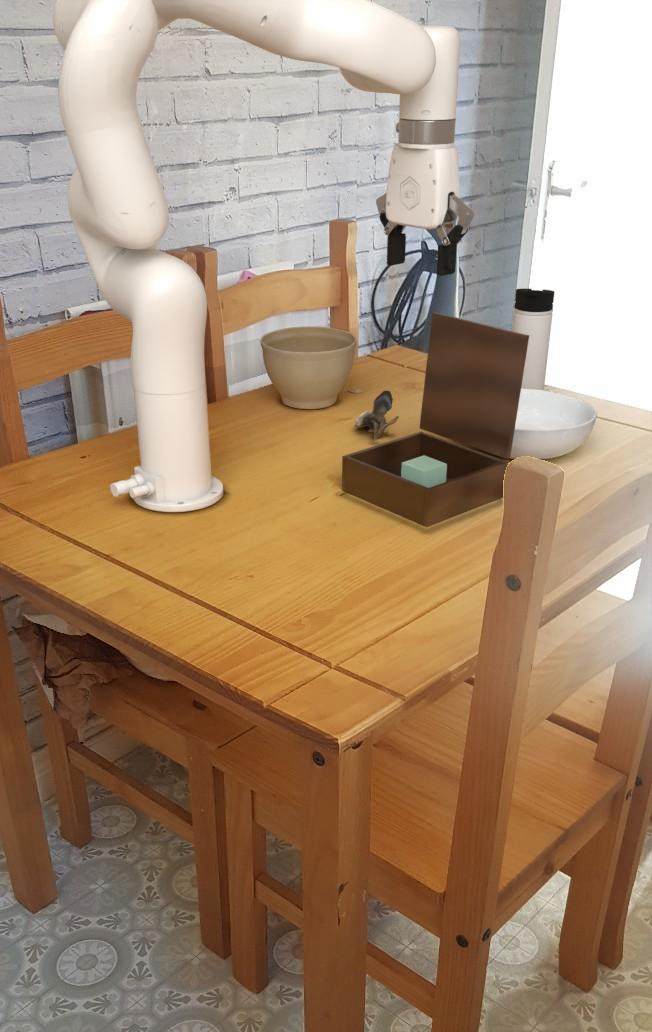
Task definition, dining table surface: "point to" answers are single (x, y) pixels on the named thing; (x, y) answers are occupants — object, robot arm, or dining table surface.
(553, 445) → the serving bowl
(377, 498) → the box
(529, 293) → the travel mug
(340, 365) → the planter bowl
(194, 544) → the dining table surface
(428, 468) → the block
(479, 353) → the lid
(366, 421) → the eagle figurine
